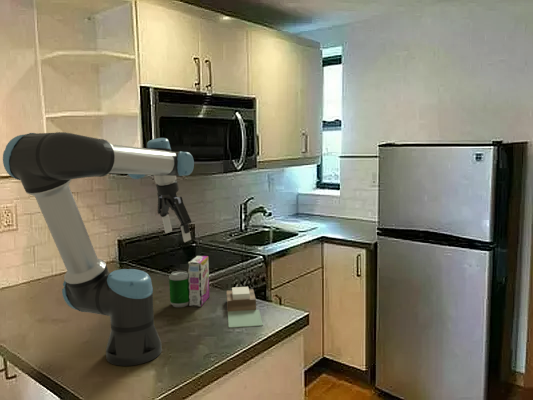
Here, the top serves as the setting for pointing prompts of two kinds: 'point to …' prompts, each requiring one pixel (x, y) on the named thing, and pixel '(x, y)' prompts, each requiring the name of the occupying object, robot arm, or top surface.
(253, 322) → the sage mat
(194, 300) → the candy bar box
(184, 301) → the soda can
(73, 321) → the top surface
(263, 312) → the top surface
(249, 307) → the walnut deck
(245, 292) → the ivory tile
